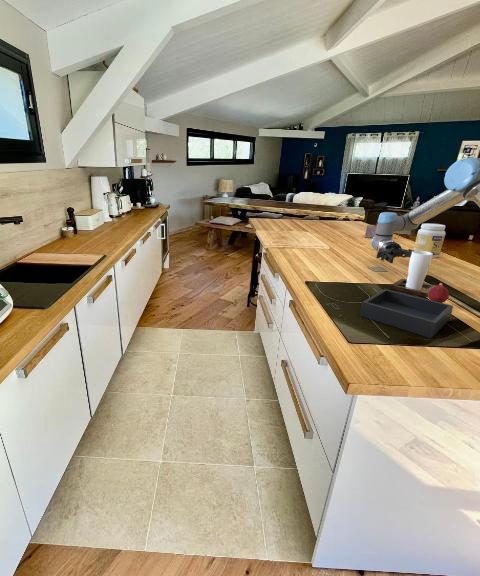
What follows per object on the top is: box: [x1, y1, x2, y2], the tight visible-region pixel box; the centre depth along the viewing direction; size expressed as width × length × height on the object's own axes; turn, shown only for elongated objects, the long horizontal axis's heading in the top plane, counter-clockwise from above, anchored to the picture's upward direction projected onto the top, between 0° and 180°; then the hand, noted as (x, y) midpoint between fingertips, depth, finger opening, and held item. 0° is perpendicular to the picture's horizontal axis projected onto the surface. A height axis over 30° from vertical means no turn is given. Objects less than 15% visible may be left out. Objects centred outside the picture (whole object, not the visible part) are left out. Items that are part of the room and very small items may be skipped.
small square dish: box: [389, 277, 437, 298], centre depth 126 cm, size 12×12×2 cm
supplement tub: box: [413, 223, 446, 259], centre depth 170 cm, size 12×12×17 cm
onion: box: [427, 282, 450, 303], centre depth 110 cm, size 6×6×8 cm
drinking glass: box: [405, 251, 433, 291], centre depth 123 cm, size 7×7×15 cm
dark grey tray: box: [359, 288, 454, 339], centre depth 101 cm, size 20×18×5 cm
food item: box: [364, 223, 378, 239], centre depth 216 cm, size 14×8×10 cm, turn 59°
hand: (410, 261), depth 129 cm, fingers open, 13 cm apart
